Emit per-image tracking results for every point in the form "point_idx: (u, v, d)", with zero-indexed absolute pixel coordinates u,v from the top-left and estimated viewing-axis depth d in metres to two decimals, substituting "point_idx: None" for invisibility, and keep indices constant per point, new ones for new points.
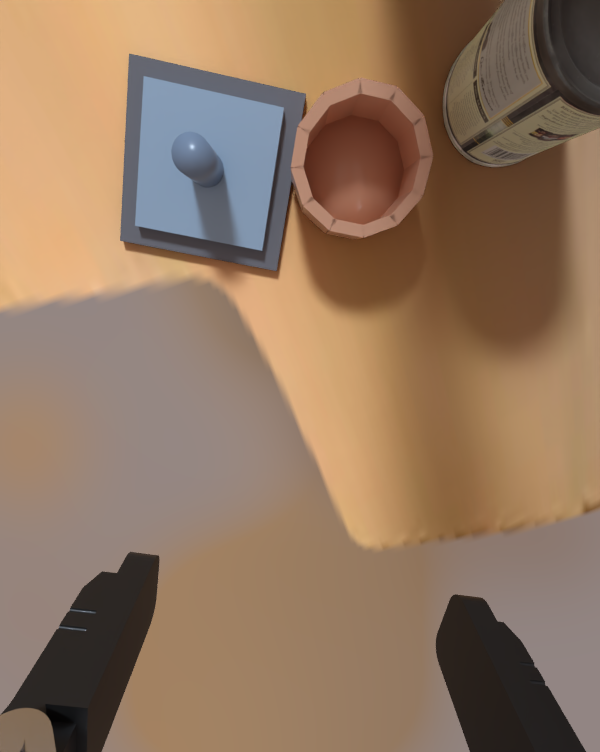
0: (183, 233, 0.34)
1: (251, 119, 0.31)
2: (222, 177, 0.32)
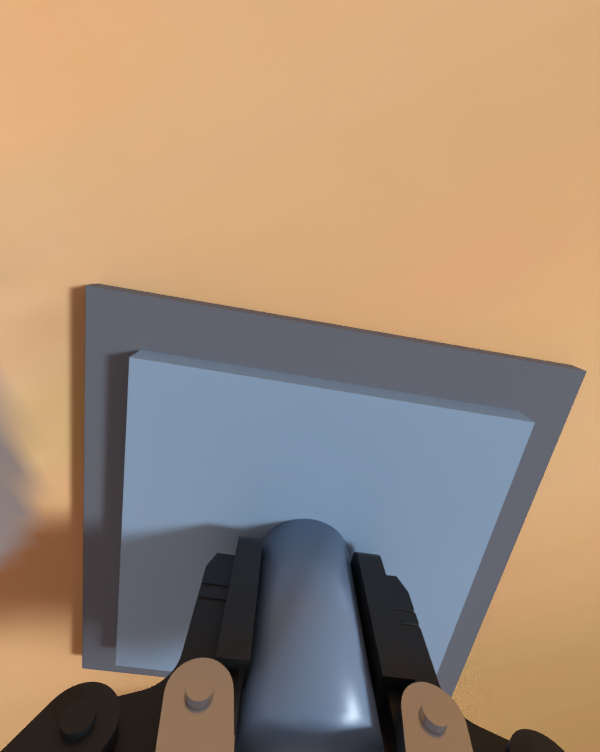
0: (128, 495, 0.11)
1: None
2: None
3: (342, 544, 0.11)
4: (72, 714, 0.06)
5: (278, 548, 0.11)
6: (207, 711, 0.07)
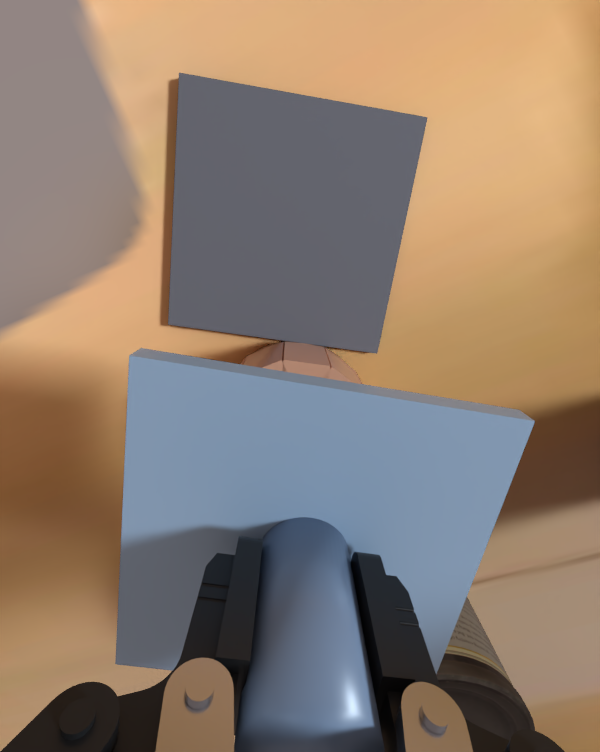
0: (128, 493, 0.11)
1: None
2: None
3: (342, 543, 0.11)
4: (72, 714, 0.06)
5: (278, 546, 0.11)
6: (207, 711, 0.07)
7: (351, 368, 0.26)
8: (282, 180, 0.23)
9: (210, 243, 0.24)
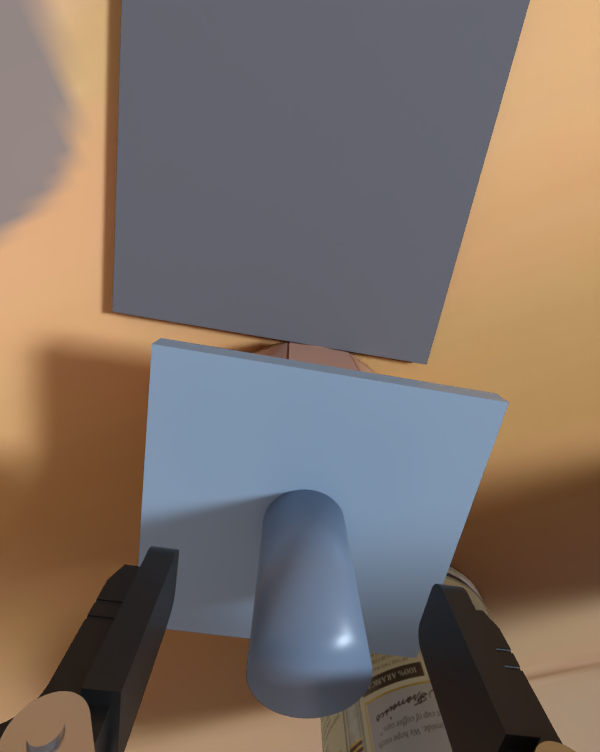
0: (148, 467, 0.13)
1: (399, 607, 0.15)
2: None
3: (339, 511, 0.13)
4: None
5: (282, 513, 0.12)
6: None
7: None
8: (293, 83, 0.14)
9: (178, 185, 0.15)
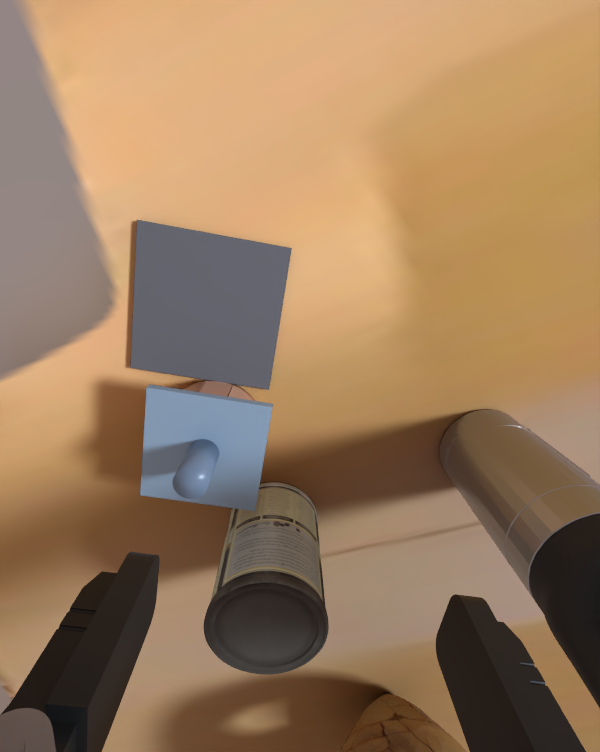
0: (145, 430, 0.35)
1: (244, 487, 0.37)
2: None
3: (214, 446, 0.35)
4: None
5: (192, 446, 0.34)
6: None
7: (250, 399, 0.40)
8: (202, 282, 0.37)
9: (157, 318, 0.38)
